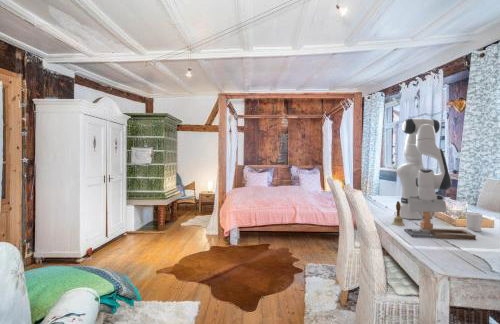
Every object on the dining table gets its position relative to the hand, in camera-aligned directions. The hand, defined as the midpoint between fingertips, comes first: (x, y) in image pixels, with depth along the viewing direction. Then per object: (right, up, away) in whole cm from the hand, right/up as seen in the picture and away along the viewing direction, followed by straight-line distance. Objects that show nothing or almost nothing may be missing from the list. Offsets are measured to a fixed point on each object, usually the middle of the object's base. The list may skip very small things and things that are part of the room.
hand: (426, 219), depth 171 cm
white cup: (+29, -7, +1) cm, 30 cm away
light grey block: (-7, -7, -10) cm, 14 cm away
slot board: (+5, -8, -13) cm, 16 cm away
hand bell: (-10, -7, +13) cm, 18 cm away
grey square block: (-12, -7, -9) cm, 17 cm away
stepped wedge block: (0, -5, 0) cm, 5 cm away
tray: (-10, -8, -10) cm, 16 cm away
